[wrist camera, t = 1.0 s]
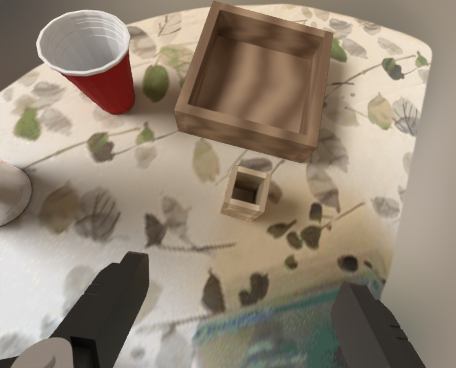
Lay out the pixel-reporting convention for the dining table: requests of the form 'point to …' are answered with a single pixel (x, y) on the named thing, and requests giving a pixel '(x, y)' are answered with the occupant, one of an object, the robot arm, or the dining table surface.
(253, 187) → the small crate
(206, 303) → the dining table surface
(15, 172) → the robot arm
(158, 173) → the dining table surface
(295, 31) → the crate
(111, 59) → the plastic cup
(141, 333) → the dining table surface
